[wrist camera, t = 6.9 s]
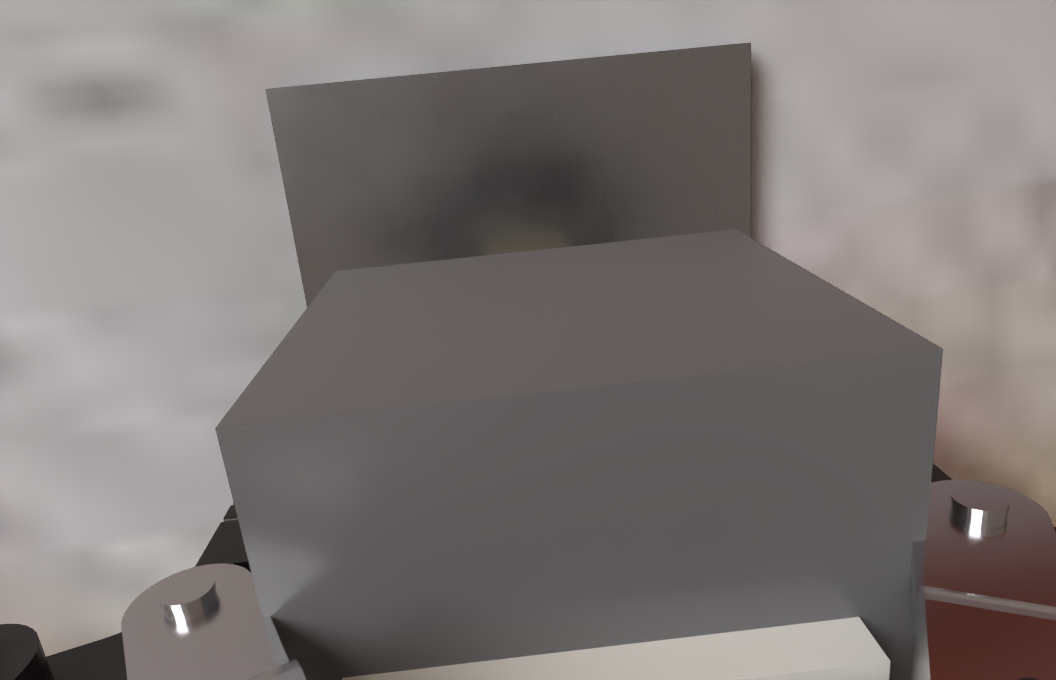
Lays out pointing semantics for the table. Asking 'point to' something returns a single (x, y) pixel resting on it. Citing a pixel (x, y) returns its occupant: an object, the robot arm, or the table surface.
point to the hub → (515, 158)
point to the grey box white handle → (589, 470)
